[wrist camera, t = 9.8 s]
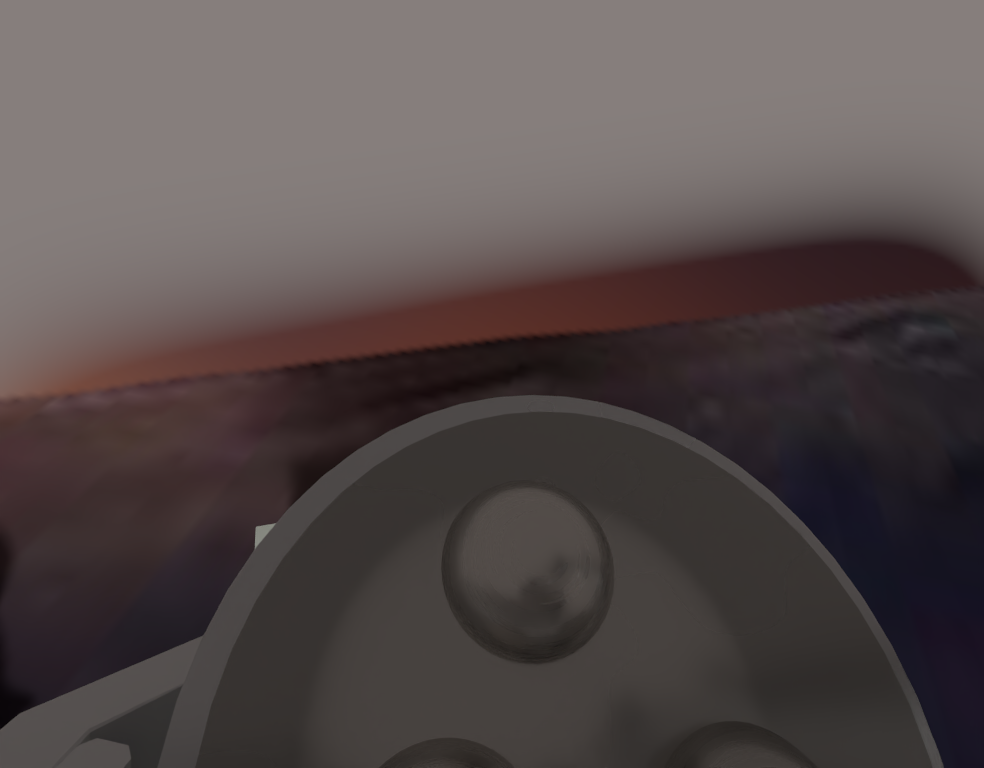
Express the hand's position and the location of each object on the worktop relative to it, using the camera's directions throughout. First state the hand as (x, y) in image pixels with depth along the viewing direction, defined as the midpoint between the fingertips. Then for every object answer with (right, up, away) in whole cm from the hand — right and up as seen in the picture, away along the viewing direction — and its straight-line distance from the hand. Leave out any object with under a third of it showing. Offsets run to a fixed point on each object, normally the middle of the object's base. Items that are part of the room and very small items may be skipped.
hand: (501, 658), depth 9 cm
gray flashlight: (-1, -4, +5) cm, 6 cm away
